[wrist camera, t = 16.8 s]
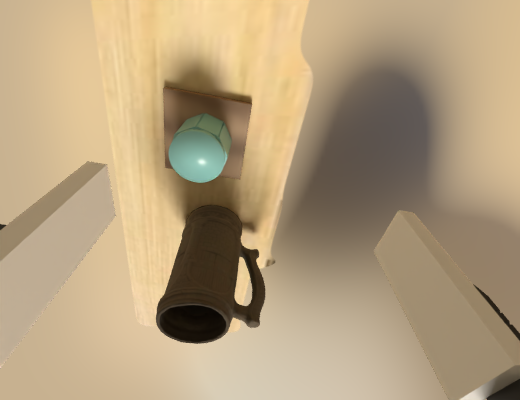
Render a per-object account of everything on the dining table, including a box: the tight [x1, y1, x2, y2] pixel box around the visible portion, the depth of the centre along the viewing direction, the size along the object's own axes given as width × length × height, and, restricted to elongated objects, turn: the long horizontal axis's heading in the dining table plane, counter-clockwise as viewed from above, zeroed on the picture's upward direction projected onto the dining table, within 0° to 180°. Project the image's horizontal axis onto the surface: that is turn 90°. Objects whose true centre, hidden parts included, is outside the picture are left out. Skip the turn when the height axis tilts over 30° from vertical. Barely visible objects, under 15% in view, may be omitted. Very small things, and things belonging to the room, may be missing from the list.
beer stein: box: [156, 206, 265, 344], centre depth 41 cm, size 15×11×20 cm
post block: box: [163, 87, 252, 179], centre depth 36 cm, size 12×12×7 cm
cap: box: [169, 113, 232, 183], centre depth 35 cm, size 7×7×7 cm
